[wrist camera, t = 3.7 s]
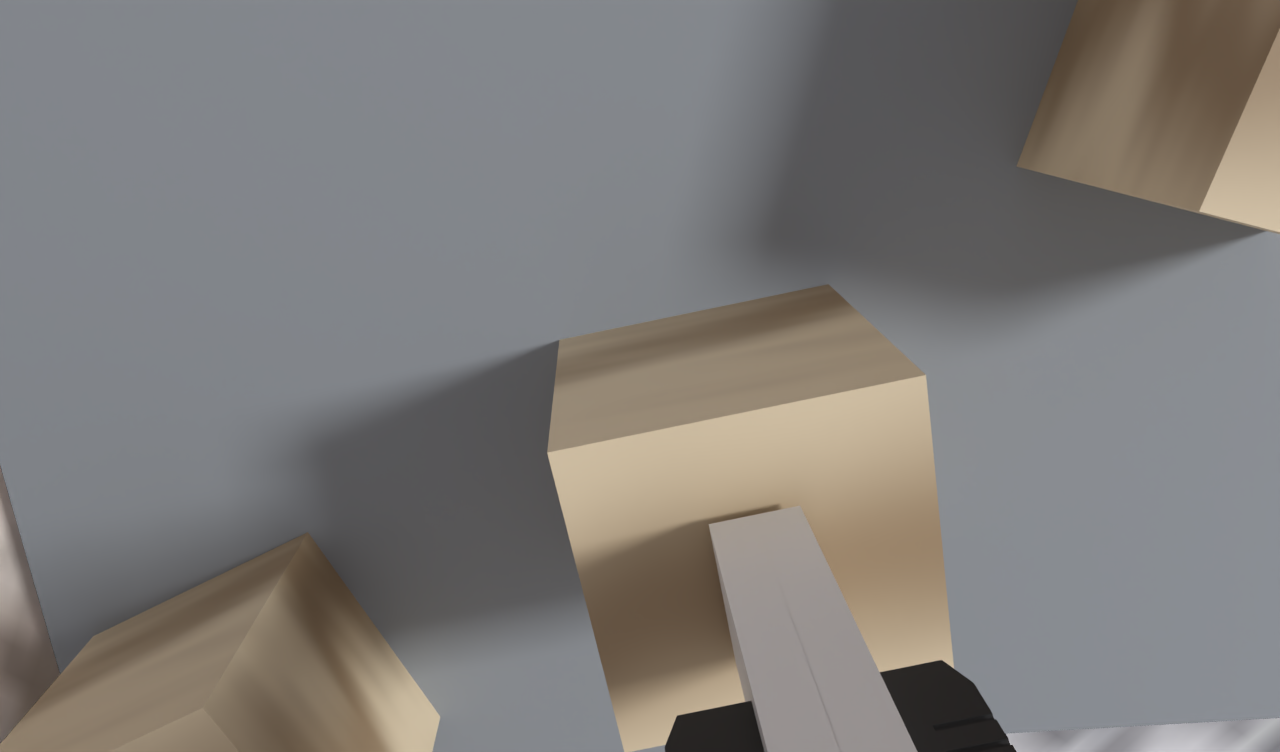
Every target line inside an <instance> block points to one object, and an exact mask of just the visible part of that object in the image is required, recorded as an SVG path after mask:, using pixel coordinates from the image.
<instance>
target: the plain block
mask: <svg viewBox="0 0 1280 752" xmlns="http://www.w3.org/2000/svg"><path fill="white" fill-rule="evenodd" d="M547 454H548V458H549V462H550V466H551V470H552V474H553V477H554V481H555V485H556V489H557V493H558V497H559V501H560V505H561V508H562V512H563V516H564V520H565V524H566V528H567V532H568V536H569V539H570V543H571V547H572V551H573V555H574V559H575V563H576V567H577V570H578V574H579V578H580V582H581V586H582V590H583V594H584V598H585V601H586V605H587V609H588V613H589V617H590V621H591V625H592V629H593V632H594V636H595V640H596V644H597V648H598V652H599V656H600V660H601V664H602V667H603V671H604V675H605V679H606V683H607V687H608V691H609V695H610V698H611V702H612V706H613V710H614V714H615V718H616V722H617V726H618V729H619V733H620V737H621V741H622V745H623V749H624V752H632V751H637V750H642V749H647V748H652V747H657V746H662V745H666V742H667V740H668V737H669V735H670V732H671V730H672V727H673V724H674V722H675V719H676V717H677V715H682V714H687V713H692V712H697V711H702V710H707V709H712V708H717V707H722V706H727V705H732V704H737V703H742V702H745V699H744V694H743V690H742V686H741V682H740V678H739V674H738V670H737V666H736V662H735V656H734V651H733V646H732V641H731V636H730V631H729V626H728V621H727V616H726V611H725V605H724V600H723V595H722V590H721V585H720V580H719V575H718V570H717V565H716V559H715V554H714V549H713V544H712V539H711V534H710V529H709V524H712V523H717V522H722V521H727V520H732V519H737V518H742V517H746V516H751V515H756V514H761V513H766V512H771V511H776V510H781V509H786V508H791V507H796V506H801V508H802V511H803V513H804V515H805V517H806V519H807V521H808V523H809V525H810V527H811V529H812V532H813V534H814V536H815V538H816V540H817V542H818V544H819V546H820V548H821V550H822V553H823V555H824V557H825V559H826V561H827V563H828V565H829V567H830V569H831V571H832V574H833V576H834V578H835V580H836V582H837V584H838V586H839V588H840V590H841V592H842V594H843V597H844V599H845V601H846V603H847V605H848V607H849V609H850V611H851V613H852V615H853V618H854V620H855V622H856V624H857V626H858V628H859V630H860V632H861V634H862V636H863V639H864V641H865V643H866V645H867V647H868V649H869V651H870V653H871V655H872V657H873V660H874V662H875V664H876V666H877V668H878V670H879V672H884V671H889V670H894V669H899V668H904V667H909V666H914V665H919V664H923V663H928V662H933V661H938V660H943V661H944V662H945V663H947V664H948V665H950V666H951V667H952V668H954V663H953V652H952V642H951V631H950V621H949V610H948V600H947V589H946V579H945V569H944V558H943V548H942V537H941V527H940V516H939V506H938V495H937V485H936V474H935V464H934V453H933V443H932V433H931V422H930V412H929V401H928V391H927V380H926V375H925V374H924V373H923V372H922V371H921V370H920V369H919V368H918V367H917V366H916V365H915V364H914V363H913V362H911V361H910V360H909V359H908V358H907V357H906V356H905V355H904V354H903V353H902V352H901V351H900V350H899V349H898V348H896V347H895V346H894V345H893V344H892V343H891V342H890V341H889V340H888V339H887V338H886V337H885V336H884V335H883V334H881V333H880V332H879V331H878V330H877V329H876V328H875V327H874V326H873V325H872V324H871V323H870V322H869V321H867V320H866V319H865V318H864V317H863V316H862V315H861V314H860V313H859V312H858V311H857V310H856V309H855V308H854V307H852V306H851V305H850V304H849V303H848V302H847V301H846V300H845V299H844V298H843V297H842V296H841V295H840V294H839V293H837V292H836V291H835V290H834V289H833V288H832V287H831V286H830V285H829V284H827V285H822V286H817V287H812V288H807V289H802V290H798V291H793V292H788V293H783V294H778V295H774V296H769V297H764V298H759V299H754V300H749V301H745V302H740V303H735V304H730V305H725V306H720V307H716V308H711V309H706V310H701V311H696V312H691V313H687V314H682V315H677V316H672V317H667V318H662V319H658V320H653V321H648V322H643V323H638V324H634V325H629V326H624V327H619V328H614V329H609V330H605V331H600V332H595V333H590V334H585V335H580V336H576V337H571V338H566V339H561V340H559V348H558V357H557V367H556V376H555V385H554V394H553V403H552V413H551V422H550V431H549V440H548V449H547Z"/></svg>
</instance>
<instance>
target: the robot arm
mask: <svg viewBox="0 0 1280 752" xmlns="http://www.w3.org/2000/svg"><path fill="white" fill-rule="evenodd" d="M709 529H710V534H711V539H712V544H713V549H714V554H715V559H716V565H717V570H718V575H719V580H720V585H721V590H722V595H723V600H724V605H725V611H726V616H727V621H728V626H729V631H730V636H731V641H732V646H733V651H734V656H735V662H736V666H737V670H738V674H739V678H740V682H741V686H742V690H743V694H744V699H745V702H742V703H737V704H732V705H727V706H722V707H717V708H712V709H707V710H702V711H697V712H692V713H687V714H682V715H677V717H676V719H675V722H674V724H673V727H672V730H671V732H670V735H669V737H668V740H667V742H666V745H665V752H1016V750H1015V749H1014V747H1013V745H1010V743H1009V740H1008V737H1007V736H1006V734H1005V733H1004V731H1003V729H1002V728H1001V726H1000V724H999V723H998V721H997V720H996V719H994V717H993V713H992V712H991V710H990V708H989V707H988V705H987V704H986V702H985V700H984V699H983V697H982V695H981V694H980V692H979V691H978V689H977V687H976V686H975V684H974V683H973V682H972V681H970V680H969V679H968V678H966V677H965V676H964V675H962V674H961V673H959V672H958V671H957V670H955V669H954V668H952V667H951V666H950V665H948V664H947V663H945V662H944V661H943V660H938V661H933V662H928V663H923V664H919V665H914V666H909V667H904V668H899V669H894V670H889V671H884V672H879V670H878V668H877V666H876V664H875V662H874V660H873V657H872V655H871V653H870V651H869V649H868V647H867V645H866V643H865V641H864V639H863V636H862V634H861V632H860V630H859V628H858V626H857V624H856V622H855V620H854V618H853V615H852V613H851V611H850V609H849V607H848V605H847V603H846V601H845V599H844V597H843V594H842V592H841V590H840V588H839V586H838V584H837V582H836V580H835V578H834V576H833V574H832V571H831V569H830V567H829V565H828V563H827V561H826V559H825V557H824V555H823V553H822V550H821V548H820V546H819V544H818V542H817V540H816V538H815V536H814V534H813V532H812V529H811V527H810V525H809V523H808V521H807V519H806V517H805V515H804V513H803V511H802V508H801V506H796V507H791V508H786V509H781V510H776V511H771V512H766V513H761V514H756V515H751V516H746V517H742V518H737V519H732V520H727V521H722V522H717V523H712V524H709Z"/></svg>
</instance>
